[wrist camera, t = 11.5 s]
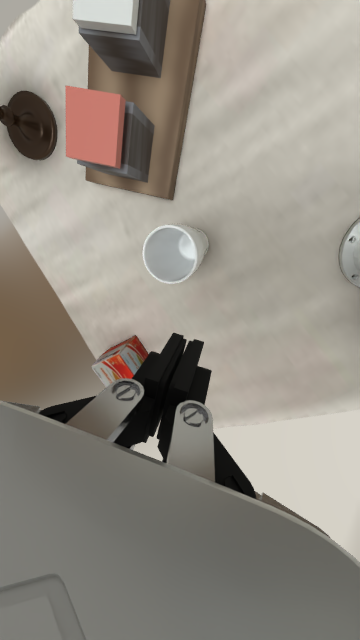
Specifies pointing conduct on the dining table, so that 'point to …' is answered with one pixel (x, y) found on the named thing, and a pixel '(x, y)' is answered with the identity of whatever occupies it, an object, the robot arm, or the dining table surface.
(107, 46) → the board
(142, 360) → the medicine box
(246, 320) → the dining table surface
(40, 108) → the candlestick
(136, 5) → the grey plunger
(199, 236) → the drinking glass
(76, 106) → the red plunger
